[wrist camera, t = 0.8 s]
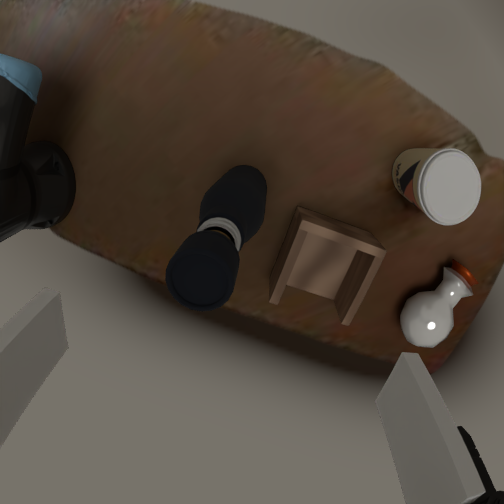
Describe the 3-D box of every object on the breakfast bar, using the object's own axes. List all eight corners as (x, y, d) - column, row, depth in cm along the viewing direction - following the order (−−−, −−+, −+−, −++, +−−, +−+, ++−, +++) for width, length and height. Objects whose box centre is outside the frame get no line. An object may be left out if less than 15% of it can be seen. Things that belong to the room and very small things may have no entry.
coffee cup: (377, 155, 42) (411, 163, 31) (429, 135, 40) (472, 139, 29) (397, 213, 45) (431, 238, 34) (446, 191, 43) (488, 211, 32)
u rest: (269, 277, 50) (269, 302, 43) (297, 205, 46) (302, 219, 39) (339, 299, 51) (348, 325, 44) (370, 233, 46) (386, 250, 39)
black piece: (275, 192, 45) (281, 295, 17) (239, 217, 47) (193, 347, 19) (248, 155, 44) (206, 199, 16) (212, 182, 45) (122, 267, 17)
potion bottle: (388, 319, 53) (441, 255, 50) (424, 355, 49) (478, 291, 46) (385, 324, 45) (447, 248, 42) (428, 365, 41) (491, 290, 38)
